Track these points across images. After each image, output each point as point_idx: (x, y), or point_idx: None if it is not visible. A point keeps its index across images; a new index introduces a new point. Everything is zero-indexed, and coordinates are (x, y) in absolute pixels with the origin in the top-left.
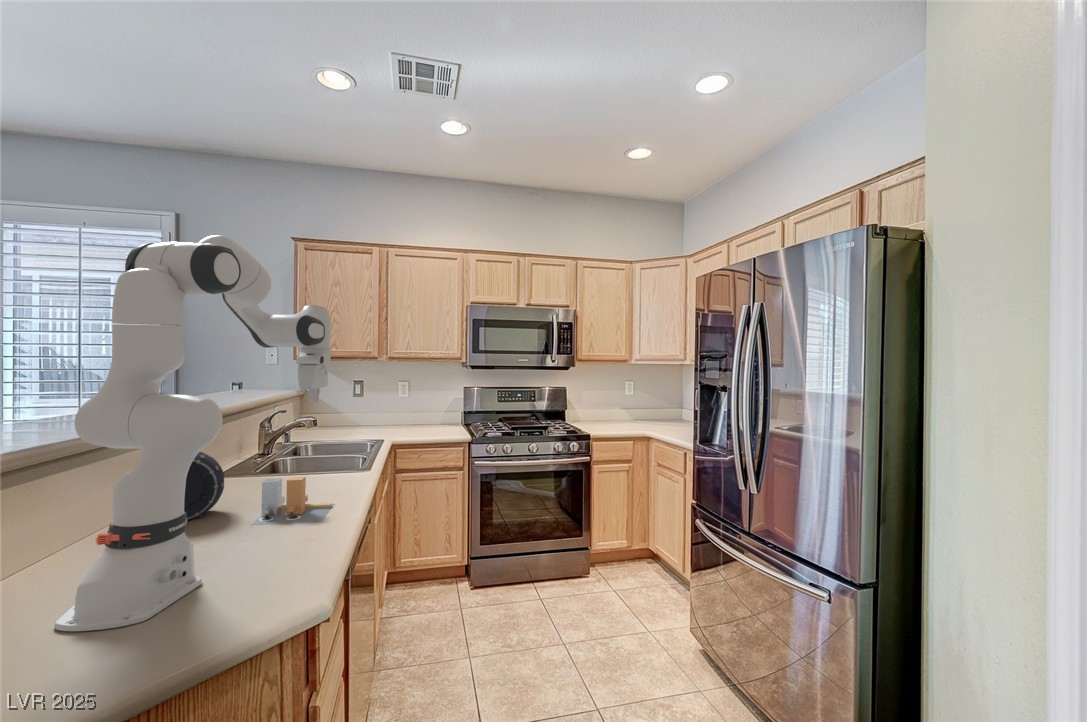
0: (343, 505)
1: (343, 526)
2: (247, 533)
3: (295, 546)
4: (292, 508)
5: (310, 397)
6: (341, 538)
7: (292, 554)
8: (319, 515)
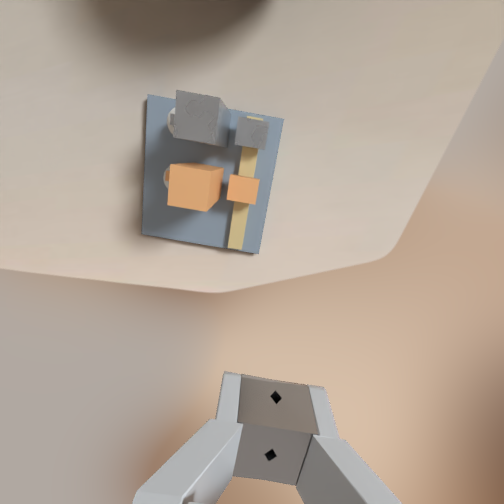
0: (269, 266)
1: (133, 268)
2: (126, 95)
3: (43, 197)
4: (165, 179)
5: (213, 422)
6: (72, 265)
7: (7, 196)
8: (180, 228)
